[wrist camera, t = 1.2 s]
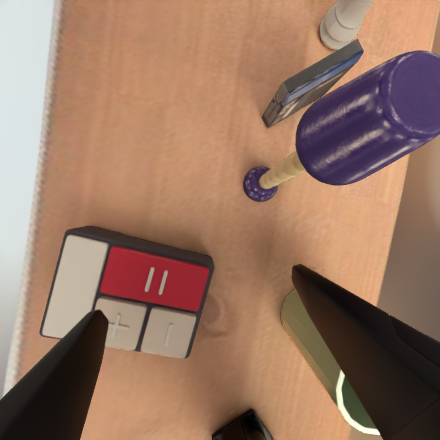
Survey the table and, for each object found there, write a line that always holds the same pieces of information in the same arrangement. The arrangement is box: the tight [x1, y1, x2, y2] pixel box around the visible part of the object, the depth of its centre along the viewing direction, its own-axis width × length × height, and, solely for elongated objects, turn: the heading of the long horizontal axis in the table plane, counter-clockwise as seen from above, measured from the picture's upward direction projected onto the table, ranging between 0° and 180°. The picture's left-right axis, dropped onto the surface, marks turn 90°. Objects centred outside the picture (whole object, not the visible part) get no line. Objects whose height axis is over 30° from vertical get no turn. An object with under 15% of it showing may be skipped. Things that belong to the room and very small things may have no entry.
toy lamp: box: [243, 50, 440, 202], centre depth 14 cm, size 5×5×17 cm
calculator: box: [40, 226, 214, 358], centre depth 20 cm, size 11×4×15 cm
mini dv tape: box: [262, 39, 363, 128], centre depth 19 cm, size 8×2×6 cm, turn 121°
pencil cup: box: [281, 289, 380, 435], centre depth 19 cm, size 8×8×10 cm
